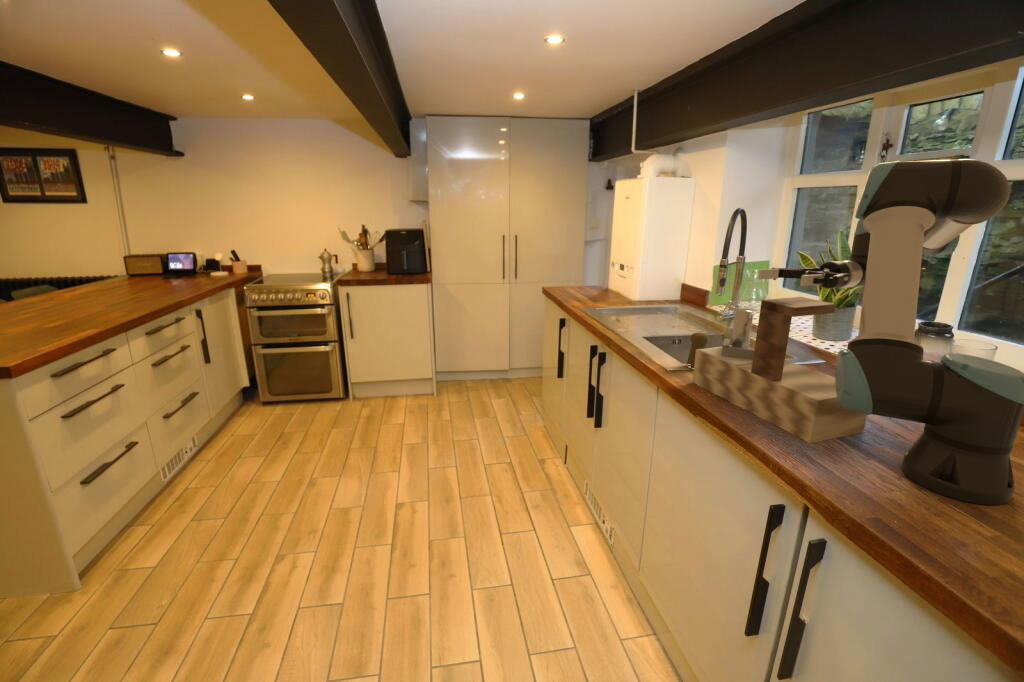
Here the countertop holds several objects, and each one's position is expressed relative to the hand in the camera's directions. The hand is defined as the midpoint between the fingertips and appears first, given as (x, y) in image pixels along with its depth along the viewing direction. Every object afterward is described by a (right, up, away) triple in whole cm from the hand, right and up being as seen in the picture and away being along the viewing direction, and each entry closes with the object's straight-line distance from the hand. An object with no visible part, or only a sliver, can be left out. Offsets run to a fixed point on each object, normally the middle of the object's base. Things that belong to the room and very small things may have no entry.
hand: (779, 277), depth 126 cm
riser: (-6, -33, -5) cm, 34 cm away
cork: (-13, -25, +23) cm, 37 cm away
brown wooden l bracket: (-6, -25, -13) cm, 29 cm away
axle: (-9, -20, +3) cm, 23 cm away
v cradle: (-9, -21, +3) cm, 23 cm away
